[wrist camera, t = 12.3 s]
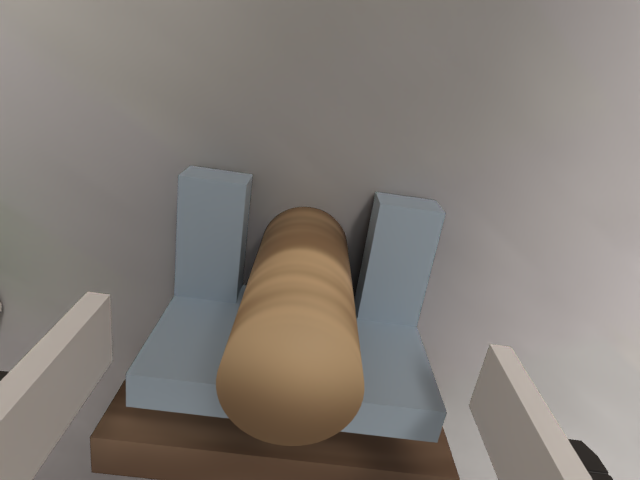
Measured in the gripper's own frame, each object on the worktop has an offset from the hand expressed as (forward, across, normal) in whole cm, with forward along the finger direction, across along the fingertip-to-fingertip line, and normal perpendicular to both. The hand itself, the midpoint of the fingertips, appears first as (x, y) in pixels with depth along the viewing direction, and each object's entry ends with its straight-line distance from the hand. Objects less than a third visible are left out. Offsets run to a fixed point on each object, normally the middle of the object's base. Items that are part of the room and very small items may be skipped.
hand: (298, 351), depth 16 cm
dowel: (+9, 0, 0) cm, 9 cm away
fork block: (+8, 0, -2) cm, 9 cm away
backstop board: (+8, 0, -8) cm, 11 cm away
